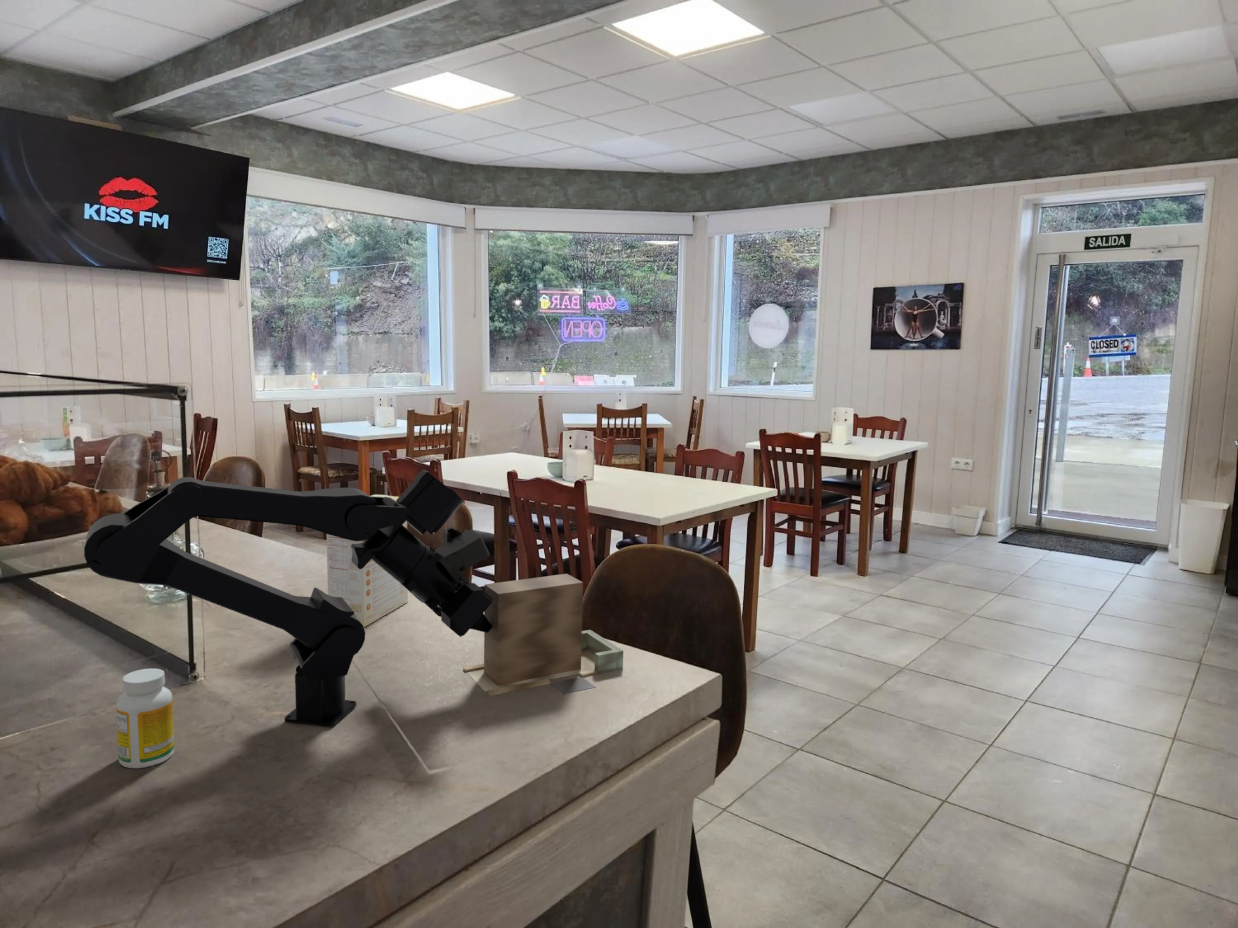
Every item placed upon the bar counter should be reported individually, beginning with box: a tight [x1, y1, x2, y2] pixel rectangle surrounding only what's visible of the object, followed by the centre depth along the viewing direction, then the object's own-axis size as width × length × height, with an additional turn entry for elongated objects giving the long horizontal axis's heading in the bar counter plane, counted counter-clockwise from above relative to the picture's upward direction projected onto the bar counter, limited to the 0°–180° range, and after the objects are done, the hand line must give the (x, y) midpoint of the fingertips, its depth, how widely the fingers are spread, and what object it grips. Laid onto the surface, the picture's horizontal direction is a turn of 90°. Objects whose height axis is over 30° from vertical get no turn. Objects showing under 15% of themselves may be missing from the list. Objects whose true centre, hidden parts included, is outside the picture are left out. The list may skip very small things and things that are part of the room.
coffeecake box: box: [326, 494, 409, 628], centre depth 139 cm, size 15×7×20 cm, turn 165°
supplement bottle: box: [115, 668, 175, 769], centre depth 89 cm, size 5×5×10 cm
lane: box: [462, 629, 624, 697], centre depth 117 cm, size 21×18×3 cm
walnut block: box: [483, 573, 584, 685], centre depth 116 cm, size 13×5×13 cm, turn 121°
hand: (489, 629), depth 112 cm, fingers closed, pressing on walnut block
